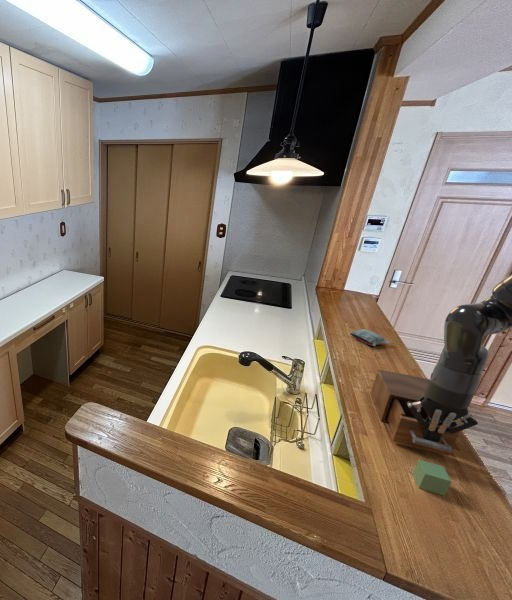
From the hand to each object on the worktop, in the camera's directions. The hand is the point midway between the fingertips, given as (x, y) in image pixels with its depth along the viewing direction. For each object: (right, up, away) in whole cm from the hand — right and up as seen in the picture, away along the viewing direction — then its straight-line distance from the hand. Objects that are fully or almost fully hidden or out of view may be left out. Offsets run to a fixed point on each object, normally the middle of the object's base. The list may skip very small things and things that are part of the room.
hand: (429, 440), depth 82 cm
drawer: (+3, -2, +7) cm, 8 cm away
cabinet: (+8, +1, +17) cm, 19 cm away
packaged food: (+33, +17, +60) cm, 71 cm away
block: (-6, -8, -6) cm, 11 cm away
